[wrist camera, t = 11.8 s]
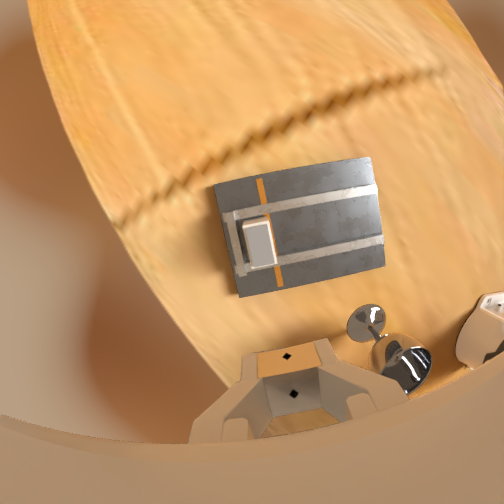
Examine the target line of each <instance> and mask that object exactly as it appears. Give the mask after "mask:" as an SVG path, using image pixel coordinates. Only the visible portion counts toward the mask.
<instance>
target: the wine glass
mask: <svg viewBox="0 0 504 504" xmlns="http://www.w3.org/2000/svg"><path fill="white" fill-rule="evenodd" d="M385 323H386V315H385V312H384V310H383V309H382V308H381V307H380V306H378V305H375V304H367V305H364V306H361V307H360V308H358V309H357V310H356V311H355V312H354V313H353V314H352V315H351V317H350V319H349V321H348V324H347V331H348V334H349V336H350V338H351V339H353V340H354V341H356V342H362V343H363V342H368V341H371V340H373V339H375V341H376V343H375V344H374V345H373V347H372V349H371V351H370V354H369V368H370V371H371V372H374V373H377V374H379V375H382V376H385V377H388V378H390V379H393V380H396V381H397V382H398V383H399V385H400V386H401V388H402V389H403V391H404V392H405V394H406V395H409V394H411V393H412V392H414V391H415V390H416V389H417V388H419V387H420V386H421V385H422V384H423V382H424V381H425V380H426V378H427V377H428V375H429V373H430V371H431V368H432V356H431V354H430V352H429V351H428V350H427V349H426V348H425V347H424V346H423V345H422V344H421V343H420V342H419V341H418V340H416V339H414V338H413V337H411V336H409V335H407V334H404V333H400V332H394V333H389V334H386V335H384V336H381V335H380V333H381V332H382V330H383V329H384V326H385Z"/></svg>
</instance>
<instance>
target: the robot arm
mask: <svg viewBox="0 0 504 504" xmlns="http://www.w3.org/2000/svg"><path fill="white" fill-rule="evenodd" d="M456 357H457V359H458V360H459V361H460V362H462V363H464V364H466V365H467V366H468V368H470V369H471V370H472V371H470V372H468V373H466V374H464V375H462V376H460V377H458V378H456V379H454V380H452V381H450V382H448V383H446V384H444V385H442V386H440V387H438V388H436V389H434V390H431V391H429V392H427V393H425V394H422V395H420V396H418V397H415V398H413V399H410V400H409V398H408V397H407V395H406V394H405V392H404V391H403V389H402V388H401V386H400V385H399V383H398V382H397V381H396V380H393V379H390V378H388V377H385V376H382V375H379V374H377V373H374V372H371V371H369V370H366V369H363V368H361V367H358V366H355V365H353V364H350V363H348V362H345V361H338V359H337V356H336V354H335V352H334V350H333V348H332V346H331V344H330V342H329V340H328V338H323V339H320V340H316V341H312V342H308V343H304V344H300V345H296V346H292V347H287V348H280V349H275V350H269V351H263V352H258V353H257V352H255V353H250V354H244V355H243V356H242V367H241V381H239V382H236V383H235V384H234V385H233V386H232V387H231V388H229V389H228V390H227V391H226V392H225V393H224V394H223V395H222V396H221V397H220V398H219V399H218V400H216V401H215V402H214V403H213V404H212V405H211V406H210V407H209V408H208V409H206V410H205V411H204V412H203V413H202V414H201V415H200V416H198V418H196V419H195V420H194V421H193V425H192V429H191V433H190V437H189V441H188V444H168V443H144V442H130V441H120V440H111V439H103V438H96V437H90V436H83V435H78V434H73V433H68V432H63V431H59V430H54V429H50V428H46V427H42V426H38V425H35V424H31V423H27V422H25V421H21V420H18V419H15V418H12V417H9V416H6V415H0V504H504V291H503V292H497V293H491V294H485V295H483V296H482V297H481V298H480V300H479V302H478V304H477V307H476V309H475V310H474V312H473V313H472V314H471V315H470V317H469V318H468V319H467V321H466V322H465V324H464V326H463V327H462V329H461V332H460V334H459V337H458V340H457V343H456ZM319 408H322V409H323V410H325V411H326V412H328V413H329V414H330V415H332V416H333V417H334V418H336V419H337V420H339V421H340V422H341V423H337V424H333V425H329V426H325V427H321V428H317V429H312V430H307V431H302V432H297V433H292V434H286V435H280V436H274V437H267V438H261V436H262V435H263V433H264V432H265V430H266V429H267V427H268V426H269V424H270V423H271V421H272V419H273V417H279V416H284V415H288V414H293V413H297V412H303V411H309V410H314V409H319Z"/></svg>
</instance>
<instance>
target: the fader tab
mask: <svg viewBox="0 0 504 504" xmlns="http://www.w3.org/2000/svg"><path fill="white" fill-rule="evenodd" d="M242 227H243V232H244V236H245V241H246V245H247V250H248V254H249V259H250V264H251V268H252V269H253V268H258V267H263V266H268V265H273V264H278V263H277V258H276V253H275V248H274V243H273V238H272V233H271V228H270V223H269V220H268V218H267V216H264V217H259V218H254V219H249V220H244V222H243V225H242Z"/></svg>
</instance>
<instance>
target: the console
mask: <svg viewBox="0 0 504 504" xmlns="http://www.w3.org/2000/svg"><path fill="white" fill-rule="evenodd" d="M214 190H215V194H216V199H217V203H218V208H219V212H220V217H221V221H222V226H223V230H224V234H225V239H226V243H227V248H228V252H229V256H230V260H231V265H232V269H233V273H234V277H235V282H236V286H237V290H238V294H239V298H242V297H247V296H252V295H258V294H263V293H268V292H273V291H278V290H282V289H287V288H292V287H297V286H301V285H306V284H311V283H315V282H320V281H324V280H329V279H333V278H337V277H342V276H346V275H350V274H354V273H359V272H363V271H367V270H371V269H375V268H379V267H383V266H385V254H384V243H385V242H384V235H383V234H382V226H381V218H380V210H379V204H378V197H377V193H378V190H377V184H375V179H374V174H373V169H372V163H371V158H370V157H365V158H357V159H349V160H342V161H335V162H328V163H322V164H316V165H310V166H304V167H298V168H292V169H287V170H281V171H276V172H271V173H266V174H261V175H256V176H251V177H246V178H241V179H237V180H232V181H228V182H223V183H219V184H215V185H214ZM264 216H267V218H268V220H269V223H270V228H271V233H272V238H273V243H274V248H275V253H276V258H277V263H278V264H273V265H268V266H263V267H258V268H253V269H252V268H251V264H250V259H249V254H248V250H247V245H246V241H245V236H244V232H243V227H242V225H243V222H244V220H249V219H254V218H259V217H264Z"/></svg>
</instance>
